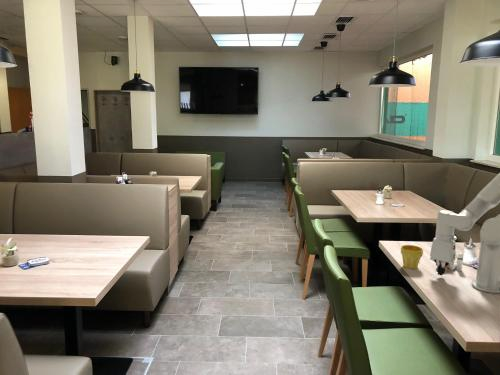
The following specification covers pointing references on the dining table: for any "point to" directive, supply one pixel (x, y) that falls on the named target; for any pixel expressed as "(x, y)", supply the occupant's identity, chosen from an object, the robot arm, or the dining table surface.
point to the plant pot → (411, 256)
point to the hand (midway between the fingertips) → (440, 274)
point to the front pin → (453, 266)
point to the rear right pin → (459, 262)
